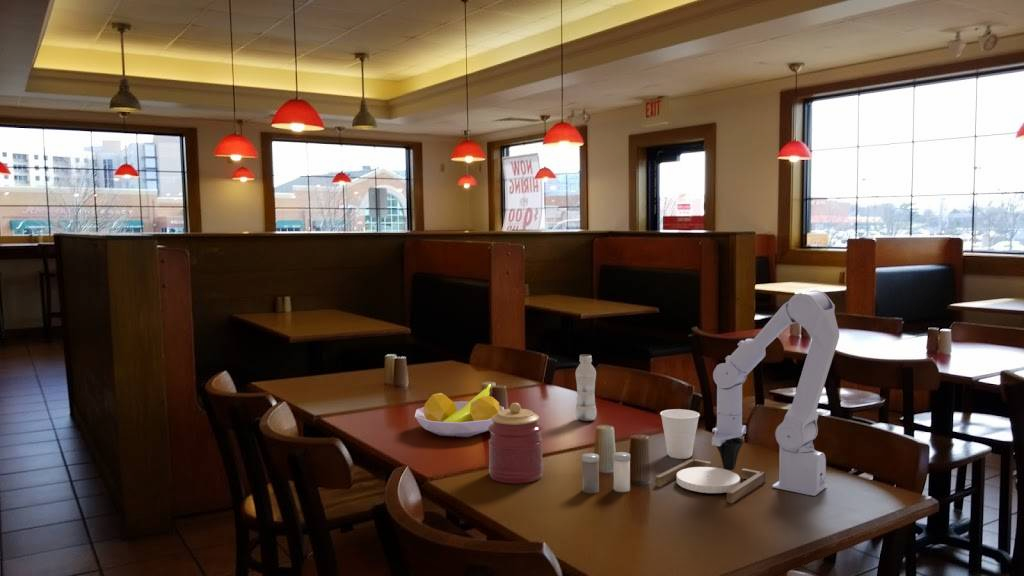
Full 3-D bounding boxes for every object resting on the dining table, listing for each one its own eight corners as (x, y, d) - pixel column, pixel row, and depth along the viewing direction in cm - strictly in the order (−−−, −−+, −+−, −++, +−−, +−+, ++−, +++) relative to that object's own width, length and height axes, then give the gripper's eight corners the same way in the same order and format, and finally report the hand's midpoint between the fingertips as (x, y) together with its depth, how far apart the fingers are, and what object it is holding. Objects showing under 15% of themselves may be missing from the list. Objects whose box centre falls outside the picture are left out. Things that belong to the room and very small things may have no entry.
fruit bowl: (450, 449, 210) (450, 407, 209) (397, 430, 230) (396, 392, 230) (530, 431, 227) (529, 392, 226) (474, 414, 248) (473, 379, 247)
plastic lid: (736, 500, 168) (736, 489, 168) (671, 493, 173) (671, 482, 173) (742, 480, 181) (743, 470, 181) (681, 474, 186) (681, 464, 186)
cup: (671, 463, 194) (671, 419, 194) (653, 452, 204) (653, 410, 203) (706, 459, 197) (707, 416, 196) (687, 448, 207) (688, 407, 206)
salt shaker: (633, 488, 176) (633, 454, 175) (624, 493, 173) (624, 458, 172) (619, 485, 178) (619, 451, 178) (610, 489, 175) (609, 454, 175)
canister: (481, 471, 190) (480, 399, 189) (531, 465, 195) (530, 395, 193) (499, 487, 178) (498, 411, 177) (552, 480, 182) (551, 406, 181)
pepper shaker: (602, 490, 175) (602, 455, 175) (593, 494, 172) (592, 459, 172) (588, 486, 178) (588, 452, 177) (578, 491, 175) (578, 456, 174)
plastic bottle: (596, 417, 241) (596, 353, 240) (596, 423, 235) (596, 357, 233) (575, 417, 242) (575, 353, 241) (575, 423, 235) (574, 357, 234)
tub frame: (765, 482, 179) (765, 472, 179) (732, 503, 166) (732, 493, 166) (691, 467, 191) (691, 458, 191) (655, 486, 178) (655, 476, 177)
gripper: (726, 404, 193) (726, 458, 194) (699, 416, 182) (699, 473, 183) (754, 408, 188) (753, 464, 189) (728, 420, 177) (728, 479, 178)
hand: (729, 469), depth 186 cm, fingers closed
